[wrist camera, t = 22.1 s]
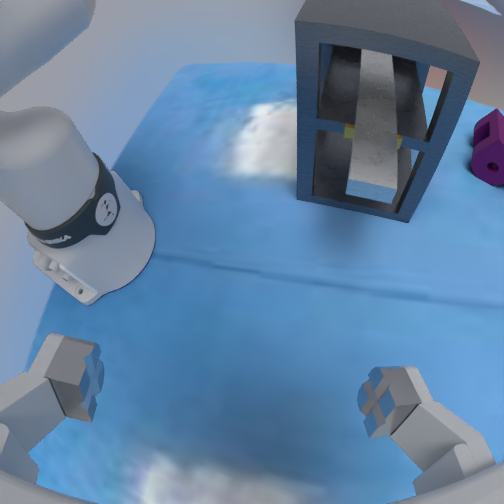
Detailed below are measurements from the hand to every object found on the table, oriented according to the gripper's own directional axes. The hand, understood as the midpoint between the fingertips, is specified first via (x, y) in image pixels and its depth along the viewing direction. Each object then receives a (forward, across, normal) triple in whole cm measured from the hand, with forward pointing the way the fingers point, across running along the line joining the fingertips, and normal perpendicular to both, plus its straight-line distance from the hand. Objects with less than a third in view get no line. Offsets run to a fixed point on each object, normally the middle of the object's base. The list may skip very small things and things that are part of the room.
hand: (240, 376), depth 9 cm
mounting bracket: (+36, -48, -7) cm, 60 cm away
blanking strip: (+27, -14, -8) cm, 31 cm away
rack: (+40, -20, 0) cm, 45 cm away
